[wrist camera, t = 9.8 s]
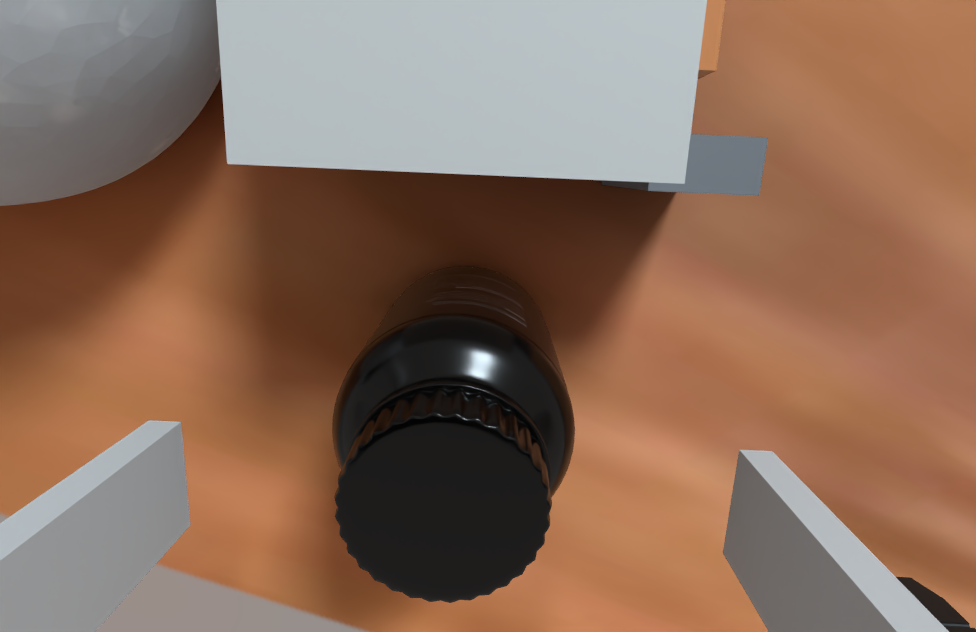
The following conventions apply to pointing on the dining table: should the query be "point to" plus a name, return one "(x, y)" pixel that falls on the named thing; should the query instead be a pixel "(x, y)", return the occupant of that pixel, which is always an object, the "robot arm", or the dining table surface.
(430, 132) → the box
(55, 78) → the teapot
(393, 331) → the supplement bottle
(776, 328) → the dining table surface
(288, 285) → the dining table surface
